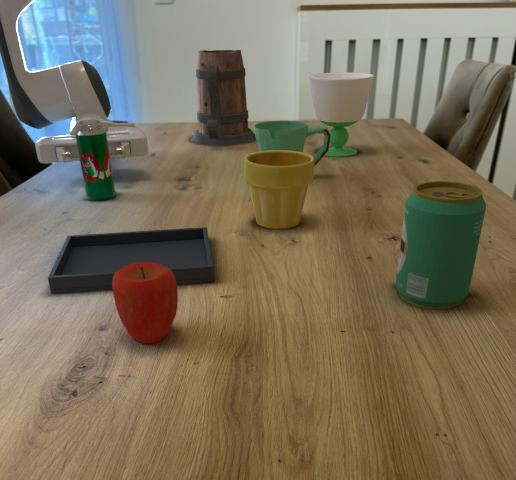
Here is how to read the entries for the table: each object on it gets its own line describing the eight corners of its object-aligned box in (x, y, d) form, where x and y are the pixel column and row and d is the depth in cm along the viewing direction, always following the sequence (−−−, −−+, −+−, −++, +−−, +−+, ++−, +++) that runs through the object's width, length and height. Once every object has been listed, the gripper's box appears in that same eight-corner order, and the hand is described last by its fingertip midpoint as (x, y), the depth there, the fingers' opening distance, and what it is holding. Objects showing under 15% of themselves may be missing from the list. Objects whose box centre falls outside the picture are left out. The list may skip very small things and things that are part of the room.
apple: (194, 334, 56) (188, 266, 52) (147, 359, 52) (136, 287, 48) (155, 315, 60) (147, 250, 56) (108, 337, 56) (95, 269, 52)
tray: (51, 294, 65) (47, 277, 64) (70, 249, 77) (67, 235, 76) (214, 282, 67) (213, 266, 66) (207, 241, 79) (206, 226, 78)
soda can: (108, 191, 101) (96, 122, 95) (121, 197, 98) (110, 126, 92) (82, 197, 98) (68, 126, 92) (94, 203, 95) (81, 130, 89)
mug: (262, 189, 101) (261, 131, 96) (249, 176, 109) (248, 122, 104) (337, 182, 104) (340, 126, 99) (319, 170, 112) (321, 117, 107)
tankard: (198, 132, 149) (192, 48, 138) (260, 132, 147) (258, 47, 137) (178, 151, 129) (169, 55, 118) (249, 152, 127) (246, 54, 117)
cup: (368, 160, 119) (374, 78, 110) (304, 158, 120) (306, 79, 112) (367, 146, 130) (373, 72, 122) (309, 145, 132) (311, 72, 124)
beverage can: (400, 276, 67) (413, 177, 61) (469, 285, 65) (490, 183, 58) (389, 304, 61) (401, 197, 55) (464, 316, 58) (487, 204, 52)
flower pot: (324, 218, 86) (327, 154, 81) (289, 238, 79) (290, 169, 74) (269, 207, 91) (268, 146, 86) (232, 225, 84) (229, 160, 79)
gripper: (33, 127, 105) (28, 141, 94) (141, 120, 110) (149, 133, 99) (41, 161, 109) (36, 178, 97) (145, 153, 113) (153, 169, 102)
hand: (94, 155), depth 98 cm, fingers open, 8 cm apart
